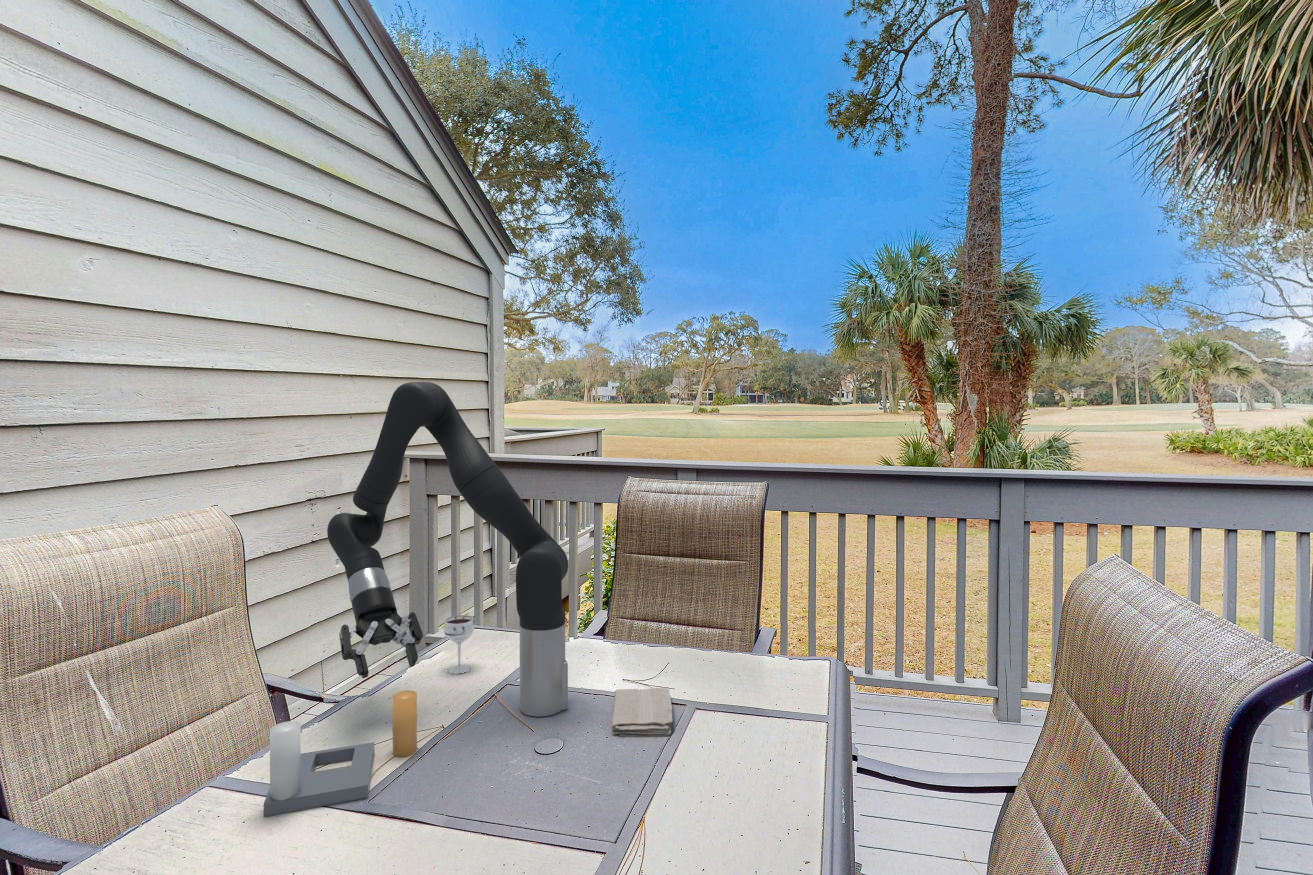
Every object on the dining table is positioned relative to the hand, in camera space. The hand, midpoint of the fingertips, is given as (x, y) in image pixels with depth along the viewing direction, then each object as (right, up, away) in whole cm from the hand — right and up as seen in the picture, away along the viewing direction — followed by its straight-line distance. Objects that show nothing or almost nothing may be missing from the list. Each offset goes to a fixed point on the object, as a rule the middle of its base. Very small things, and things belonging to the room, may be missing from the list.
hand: (390, 670), depth 118 cm
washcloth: (+47, -13, +8) cm, 49 cm away
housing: (-4, -12, -16) cm, 20 cm away
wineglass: (+3, -12, +31) cm, 33 cm away
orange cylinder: (+5, -12, -6) cm, 14 cm away
